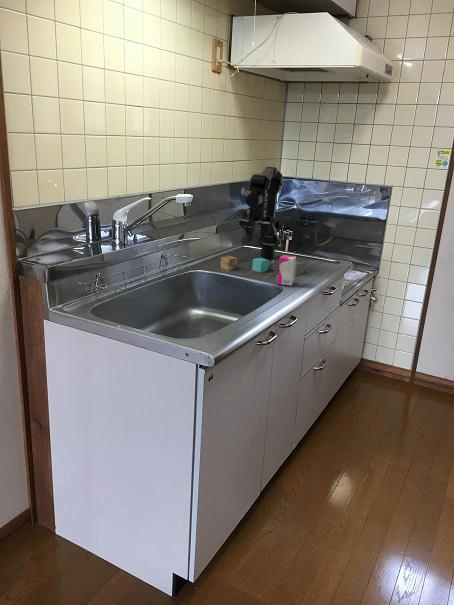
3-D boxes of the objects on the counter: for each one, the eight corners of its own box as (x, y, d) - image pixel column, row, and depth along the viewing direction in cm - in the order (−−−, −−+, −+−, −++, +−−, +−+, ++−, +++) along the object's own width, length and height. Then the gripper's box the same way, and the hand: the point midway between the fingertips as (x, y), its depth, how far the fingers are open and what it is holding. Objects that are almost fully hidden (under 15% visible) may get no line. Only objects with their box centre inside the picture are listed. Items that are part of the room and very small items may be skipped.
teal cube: (259, 268, 224) (260, 257, 222) (268, 271, 221) (268, 260, 219) (252, 270, 221) (253, 259, 219) (260, 272, 217) (261, 261, 216)
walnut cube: (228, 266, 224) (229, 255, 223) (236, 269, 221) (237, 258, 219) (220, 268, 221) (221, 257, 219) (228, 270, 218) (228, 259, 216)
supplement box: (294, 283, 203) (296, 256, 200) (291, 287, 198) (293, 259, 194) (280, 281, 205) (282, 254, 202) (277, 285, 200) (279, 257, 196)
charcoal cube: (294, 271, 222) (295, 260, 221) (303, 273, 219) (304, 262, 217) (287, 272, 219) (288, 261, 217) (296, 275, 216) (297, 264, 214)
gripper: (256, 200, 224) (254, 235, 229) (230, 203, 210) (228, 240, 215) (276, 204, 217) (274, 239, 222) (250, 207, 203) (248, 244, 208)
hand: (255, 240), depth 217 cm, fingers open, 9 cm apart
